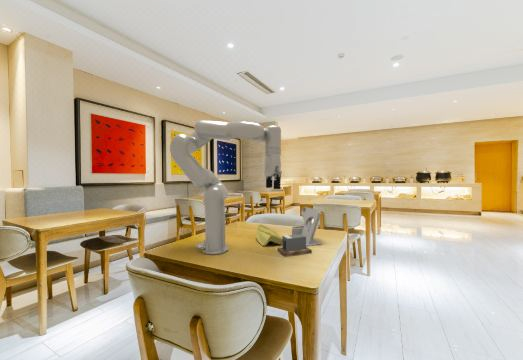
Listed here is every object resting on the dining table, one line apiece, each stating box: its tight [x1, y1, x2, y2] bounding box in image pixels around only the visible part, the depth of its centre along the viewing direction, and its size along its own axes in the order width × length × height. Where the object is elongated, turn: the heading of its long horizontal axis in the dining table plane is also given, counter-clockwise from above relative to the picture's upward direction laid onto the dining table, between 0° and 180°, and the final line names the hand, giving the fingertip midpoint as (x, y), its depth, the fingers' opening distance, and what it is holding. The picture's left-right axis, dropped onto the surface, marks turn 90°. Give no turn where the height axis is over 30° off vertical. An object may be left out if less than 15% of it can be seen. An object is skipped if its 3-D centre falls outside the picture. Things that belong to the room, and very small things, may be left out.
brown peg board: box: [276, 246, 312, 258], centre depth 112 cm, size 14×8×6 cm, turn 110°
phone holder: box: [291, 206, 322, 248], centre depth 129 cm, size 17×10×18 cm, turn 21°
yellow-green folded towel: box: [255, 224, 282, 247], centre depth 130 cm, size 20×7×10 cm
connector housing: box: [281, 234, 307, 252], centre depth 112 cm, size 10×5×6 cm, turn 110°
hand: (272, 188), depth 112 cm, fingers open, 9 cm apart
